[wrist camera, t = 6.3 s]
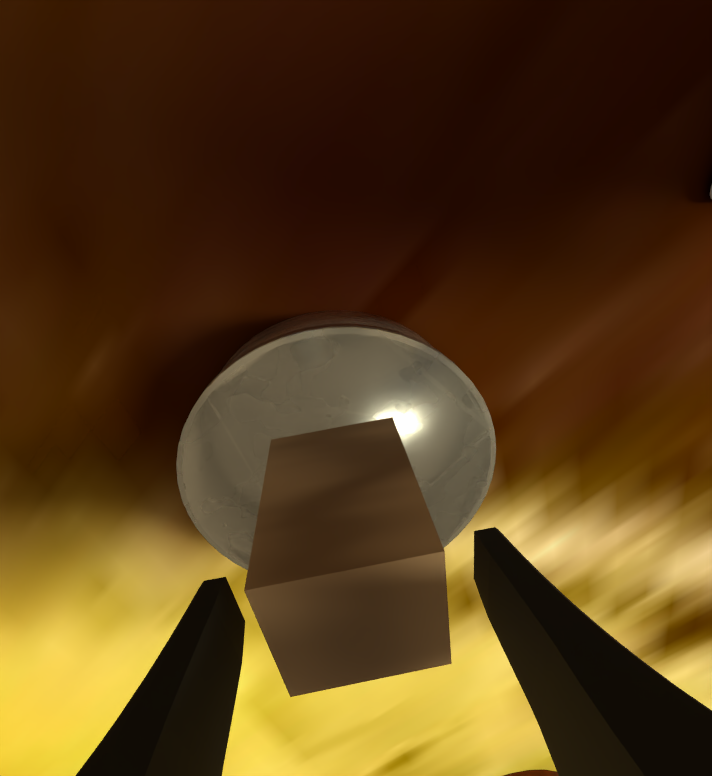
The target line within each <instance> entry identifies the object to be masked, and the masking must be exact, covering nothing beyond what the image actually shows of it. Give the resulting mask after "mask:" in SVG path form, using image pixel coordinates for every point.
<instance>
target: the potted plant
mask: <svg viewBox="0 0 712 776" xmlns="http://www.w3.org/2000/svg"><path fill="white" fill-rule="evenodd" d="M506 776H559V775H558V772H554V771H548V770H529V771H523V772H518V773H512V774H509V775H506Z"/></svg>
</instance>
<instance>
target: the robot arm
mask: <svg viewBox="0 0 712 776" xmlns="http://www.w3.org/2000/svg"><path fill="white" fill-rule="evenodd" d="M710 196H711V199H712V185H711V189H710ZM474 580H475V583H476V585H477V588H478V591H479V594H480V597H481V599H482V602H483V605H484V608H485V610H486V613H487V616H488V618H489V620H490V622H491V624H492V626H493V629H494V631H495V633H496V635H497V637H498V639H499V641H500V643H501V645H502V648H503V650H504V652H505V654H506V656H507V658H508V660H509V662H510V664H511V666H512V668H513V670H514V673H515V675H516V677H517V679H518V681H519V683H520V685H521V687H522V689H523V691H524V693H525V696H526V698H527V700H528V702H529V704H530V706H531V708H532V711H533V713H534V715H535V717H536V720H537V722H538V724H539V726H540V729H541V731H542V734H543V737H544V739H545V742H546V744H547V747H548V749H549V752H550V754H551V757H552V760H553V762H554V765H555V767H556V770H557V772H558V775H559V776H712V710H710V709H709V708H707V707H706V706H704V705H703V704H701V703H700V702H698V701H697V700H696V699H694V698H693V697H691V696H690V695H688V694H687V693H685V692H684V691H683V690H681V689H680V688H678V687H677V686H675V685H674V684H673V683H671V682H670V681H669V680H667V679H666V678H665V677H663V676H662V675H661V674H659V673H658V672H657V671H655V670H654V669H653V668H651V667H650V666H649V665H647V664H646V663H645V662H643V661H642V660H641V659H639V658H638V657H637V656H636V655H634V654H633V653H632V652H630V651H629V650H628V649H627V648H625V647H624V646H623V645H621V644H620V643H619V642H618V641H617V640H615V639H614V638H613V637H612V636H610V635H609V634H608V633H607V632H606V631H604V630H603V629H602V628H601V627H600V626H598V625H597V624H596V623H595V622H594V621H593V620H591V619H590V618H589V617H588V616H587V615H586V614H585V613H583V612H582V611H581V610H580V609H579V608H578V607H577V606H575V605H574V604H573V603H572V602H571V601H570V600H569V599H568V598H567V597H565V596H564V595H563V594H562V593H561V592H560V591H559V590H558V589H557V588H556V587H555V586H554V585H553V584H552V583H551V582H549V581H548V580H547V579H546V578H545V577H544V576H543V575H542V574H541V573H540V572H539V571H538V570H537V569H536V568H535V567H534V566H533V565H532V564H531V563H530V562H529V561H528V560H527V559H526V558H525V557H524V556H523V555H522V554H521V553H520V552H519V551H518V550H517V549H516V548H515V547H514V546H513V545H512V544H511V543H510V542H509V540H508V539H507V538H506V537H505V536H504V535H503V534H502V533H501V532H500V531H499V530H498V529H497V528H495V527H494V528H488V529H483V530H478V531H474ZM244 630H245V620H244V618H243V615H242V613H241V611H240V609H239V606H238V604H237V602H236V599H235V597H234V595H233V593H232V590H231V588H230V586H229V583H228V581H227V579H226V577H223V578H217V579H212V580H207V581H204V582H203V583H202V584H201V586H200V588H199V589H198V591H197V593H196V595H195V596H194V598H193V600H192V601H191V603H190V605H189V607H188V608H187V610H186V612H185V613H184V615H183V617H182V619H181V620H180V622H179V624H178V625H177V627H176V629H175V630H174V632H173V634H172V635H171V637H170V639H169V640H168V642H167V643H166V645H165V647H164V648H163V650H162V651H161V653H160V655H159V656H158V658H157V659H156V661H155V663H154V664H153V666H152V667H151V669H150V671H149V672H148V674H147V675H146V677H145V678H144V680H143V681H142V683H141V684H140V686H139V687H138V689H137V690H136V692H135V693H134V695H133V696H132V698H131V699H130V701H129V702H128V704H127V705H126V707H125V708H124V710H123V711H122V713H121V714H120V716H119V717H118V718H117V720H116V721H115V723H114V724H113V726H112V727H111V728H110V730H109V731H108V733H107V734H106V735H105V737H104V738H103V740H102V741H101V742H100V744H99V745H98V746H97V748H96V749H95V751H94V752H93V753H92V755H91V756H90V757H89V759H88V760H87V761H86V763H85V764H84V765H83V767H82V768H81V769H80V771H79V772H78V773H77V775H76V776H222V770H223V764H224V759H225V753H226V748H227V743H228V737H229V732H230V726H231V721H232V715H233V710H234V705H235V699H236V694H237V688H238V682H239V677H240V671H241V665H242V656H243V644H244Z"/></svg>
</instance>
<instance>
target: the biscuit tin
mask: <svg viewBox="0 0 712 776" xmlns="http://www.w3.org/2000/svg"><path fill="white" fill-rule="evenodd" d="M390 417H393V420H394V422H395V425H396V427H397V430H398V433H399V435H400V438H401V440H402V443H403V446H404V448H405V451H406V453H407V456H408V458H409V461H410V464H411V466H412V469H413V471H414V474H415V477H416V479H417V482H418V484H419V487H420V489H421V492H422V495H423V497H424V500H425V502H426V505H427V508H428V510H429V513H430V515H431V518H432V520H433V523H434V526H435V528H436V531H437V533H438V536H439V539H440V541H441V544H442V546H443V548H444V547H445V546H446V545H448V544H449V543H450V542H451V541H452V540H453V539H454V538H455V537H456V536H457V535H459V533H460V532H461V531H462V530H463V529H464V528H465V527H466V525H467V524H468V523H469V522H470V521H471V519H472V518H473V516H474V515H475V513H476V512H477V510H478V509H479V507H480V505H481V503H482V501H483V499H484V498H485V496H486V494H487V491H488V488H489V485H490V482H491V480H492V476H493V471H494V466H495V455H496V442H495V433H494V427H493V424H492V420H491V416H490V413H489V411H488V409H487V407H486V404H485V402H484V400H483V398H482V396H481V395H480V393H479V392H478V390H477V389H476V387H475V386H474V384H473V383H472V382H471V380H470V379H469V378H468V377H467V376H466V375H465V374H464V373H463V372H462V371H461V370H460V369H459V368H458V367H457V366H456V365H455V363H454V362H452V361H451V360H450V359H449V358H447V357H446V356H445V355H443V354H442V353H441V352H440V351H438V350H437V349H435V348H433V347H432V346H431V345H430V344H429V343H428V342H427V341H426V340H424V339H423V338H422V337H421V336H419V335H418V334H417V333H415V332H414V331H412V330H410V329H409V328H407V327H405V326H403V325H402V324H400V323H397V322H395V321H392V320H390V319H387V318H385V317H381V316H377V315H373V314H369V313H365V312H357V311H348V310H332V311H320V312H314V313H307V314H303V315H300V316H296V317H293V318H289V319H287V320H284V321H282V322H280V323H277V324H275V325H273V326H271V327H269V328H267V329H265V330H264V331H262V332H261V333H259V334H257V335H256V336H254V337H253V338H251V339H250V340H249V341H248V342H247V343H245V344H244V345H243V346H242V347H240V348H239V349H238V351H237V352H236V353H235V354H234V355H233V356H232V357H231V358H230V359H229V360H228V361H227V363H226V364H225V366H224V367H223V369H222V370H221V372H220V373H219V374H218V375H217V376H216V377H215V378H214V379H213V380H212V381H211V382H210V383H209V385H208V386H207V387H206V388H205V390H204V391H203V393H202V394H201V396H200V397H199V399H198V400H197V402H196V403H195V405H194V407H193V408H192V410H191V412H190V414H189V417H188V419H187V421H186V423H185V425H184V427H183V430H182V434H181V438H180V441H179V445H178V452H177V463H176V468H177V481H178V486H179V490H180V494H181V498H182V501H183V503H184V506H185V508H186V510H187V513H188V515H189V517H190V518H191V520H192V521H193V523H194V525H195V526H196V528H197V529H198V531H199V532H200V533H201V534H202V535H203V536H204V538H205V539H206V540H207V541H208V542H209V543H210V544H211V545H212V546H213V547H214V548H215V549H217V550H218V551H219V552H220V553H221V554H222V555H224V556H225V557H227V558H228V559H230V560H231V561H233V562H234V563H235V564H237V565H239V566H241V567H243V568H245V569H247V570H248V567H249V561H250V556H251V550H252V544H253V539H254V533H255V527H256V522H257V516H258V510H259V505H260V499H261V493H262V488H263V482H264V476H265V471H266V465H267V459H268V454H269V448H270V442H271V440H272V439H277V438H283V437H288V436H293V435H299V434H304V433H309V432H315V431H320V430H326V429H331V428H336V427H342V426H347V425H352V424H358V423H363V422H368V421H374V420H379V419H385V418H390Z"/></svg>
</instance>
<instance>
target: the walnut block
mask: <svg viewBox="0 0 712 776" xmlns="http://www.w3.org/2000/svg"><path fill="white" fill-rule="evenodd" d="M244 591H245V593H246V596H247V598H248V600H249V603H250V605H251V607H252V609H253V612H254V614H255V616H256V619H257V621H258V623H259V626H260V628H261V630H262V632H263V635H264V637H265V639H266V642H267V644H268V646H269V649H270V651H271V653H272V655H273V658H274V660H275V662H276V665H277V667H278V669H279V672H280V674H281V676H282V679H283V681H284V683H285V685H286V688H287V690H288V692H289V695H290V697H292V696H297V695H302V694H307V693H312V692H317V691H321V690H326V689H331V688H336V687H341V686H346V685H350V684H355V683H360V682H365V681H370V680H375V679H379V678H384V677H389V676H394V675H399V674H404V673H408V672H413V671H418V670H423V669H428V668H433V667H437V666H442V665H447V664H451V650H450V634H449V617H448V601H447V585H446V569H445V553H444V549H443V546H442V544H441V541H440V539H439V536H438V533H437V531H436V528H435V526H434V523H433V520H432V518H431V515H430V513H429V510H428V508H427V505H426V502H425V500H424V497H423V495H422V492H421V489H420V487H419V484H418V482H417V479H416V477H415V474H414V471H413V469H412V466H411V464H410V461H409V458H408V456H407V453H406V451H405V448H404V446H403V443H402V440H401V438H400V435H399V433H398V430H397V427H396V425H395V422H394V420H393V417H390V418H385V419H379V420H374V421H368V422H363V423H358V424H352V425H347V426H342V427H336V428H331V429H326V430H320V431H315V432H309V433H304V434H299V435H293V436H288V437H283V438H277V439H272V440H271V442H270V448H269V454H268V459H267V465H266V471H265V476H264V482H263V488H262V493H261V499H260V505H259V510H258V516H257V522H256V527H255V533H254V539H253V544H252V550H251V556H250V561H249V567H248V573H247V578H246V584H245V590H244Z"/></svg>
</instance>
